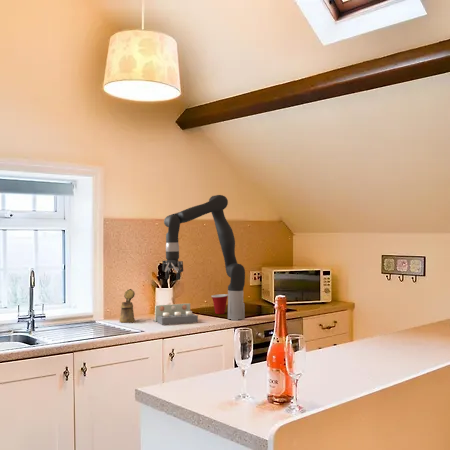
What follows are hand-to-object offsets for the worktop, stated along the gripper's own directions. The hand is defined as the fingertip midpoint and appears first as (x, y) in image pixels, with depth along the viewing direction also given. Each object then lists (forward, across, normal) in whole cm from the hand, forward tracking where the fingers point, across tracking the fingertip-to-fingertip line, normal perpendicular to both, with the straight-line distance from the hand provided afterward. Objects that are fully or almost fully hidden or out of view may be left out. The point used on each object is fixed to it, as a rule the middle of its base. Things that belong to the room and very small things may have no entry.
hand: (172, 279), depth 320 cm
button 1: (+22, +4, +2) cm, 22 cm away
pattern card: (+25, +9, -8) cm, 28 cm away
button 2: (+22, -2, -11) cm, 25 cm away
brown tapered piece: (+25, +27, +10) cm, 38 cm away
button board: (+25, +1, -4) cm, 26 cm away
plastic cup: (+26, +5, -47) cm, 54 cm away
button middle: (+22, +1, -4) cm, 22 cm away
